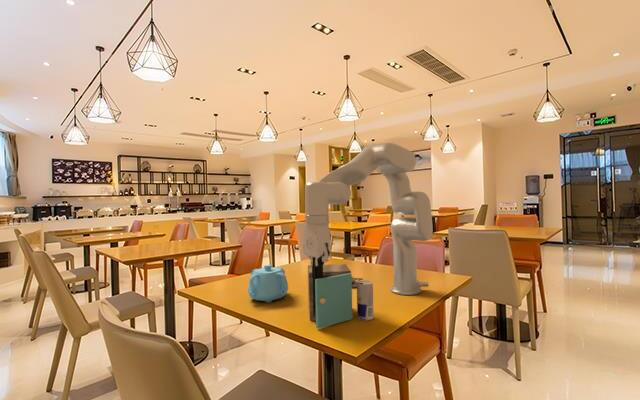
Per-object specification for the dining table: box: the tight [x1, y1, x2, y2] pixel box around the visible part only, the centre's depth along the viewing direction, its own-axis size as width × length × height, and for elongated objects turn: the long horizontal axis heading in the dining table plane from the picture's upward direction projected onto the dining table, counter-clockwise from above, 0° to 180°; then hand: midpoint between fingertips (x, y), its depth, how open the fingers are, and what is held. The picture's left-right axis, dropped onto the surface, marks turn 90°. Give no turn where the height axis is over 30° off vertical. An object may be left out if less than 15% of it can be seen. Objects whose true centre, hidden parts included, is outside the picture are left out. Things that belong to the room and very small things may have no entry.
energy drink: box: [356, 280, 374, 322], centre depth 110 cm, size 5×5×12 cm
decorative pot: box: [247, 264, 289, 303], centre depth 135 cm, size 16×16×14 cm
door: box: [315, 272, 353, 330], centre depth 105 cm, size 14×2×15 cm, turn 124°
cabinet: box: [307, 263, 352, 322], centre depth 115 cm, size 14×12×16 cm
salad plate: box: [352, 276, 364, 289], centre depth 154 cm, size 19×18×5 cm
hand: (317, 277), depth 105 cm, fingers closed
